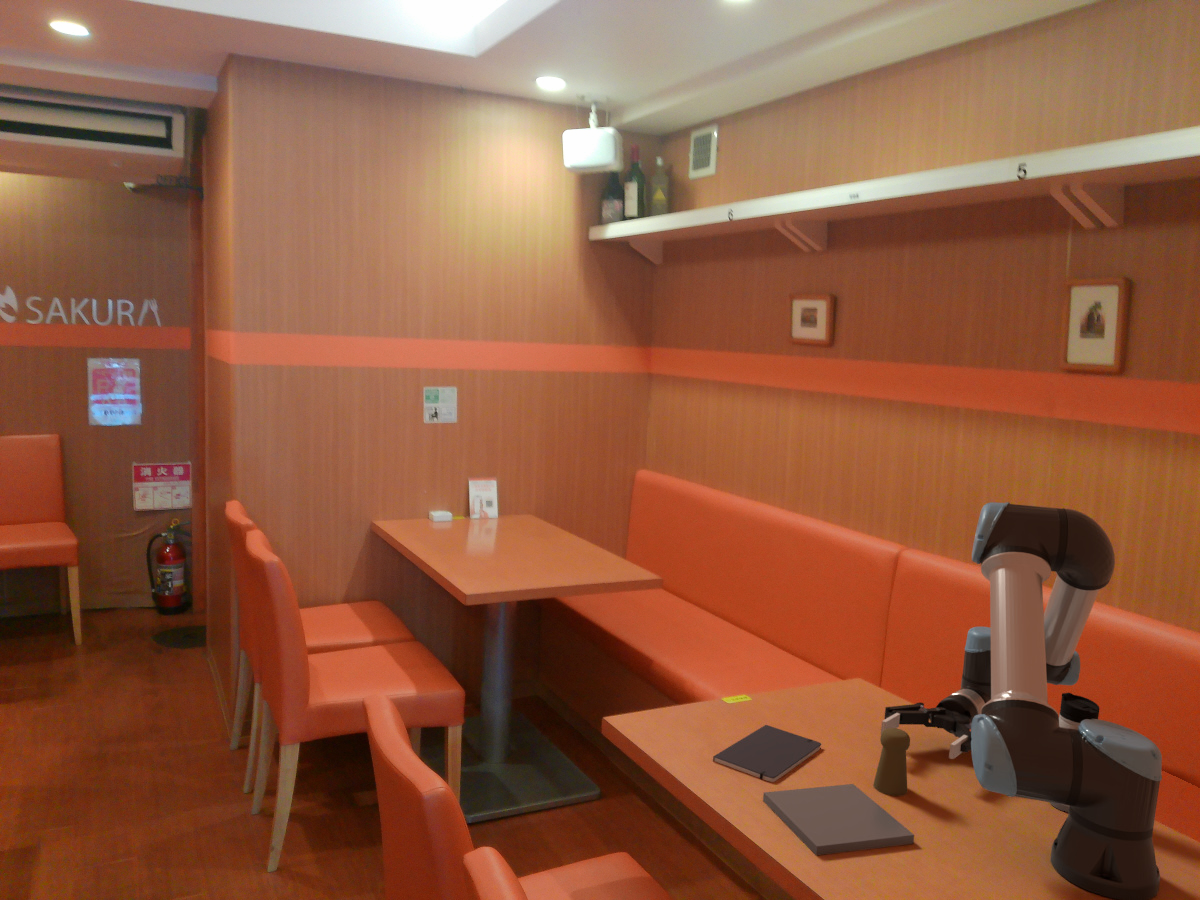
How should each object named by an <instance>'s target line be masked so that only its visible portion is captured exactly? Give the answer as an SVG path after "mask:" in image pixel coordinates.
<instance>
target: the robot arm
mask: <svg viewBox="0 0 1200 900" xmlns="http://www.w3.org/2000/svg"><path fill="white" fill-rule="evenodd" d="M971 561H972V562H973V563H976V564H977V565H980V571H981V574H982V575H983V577H984V578H985V579H986V580H987V581H989V586H990V587H989V592H990V596H989V601H990V602H989V606H990V607H989V608H990V610H989V611H990V613H989V614H990V626H989V627H988V626H974V627H970V628H969V630H968V632H967V634H966V636H967V637H966V641H965V645H964V655H963V667H962V673H961V674H962V675H961V681H960V682H961V683H960V688H959V689H958V690H956V691H955V692H953V693H951V694H949V695H948V696H947V697H945V698H943V699H942V700H940V701H939V702H938V703H937V705H936V706H935V707H930V708H927V707H925V703H923V702H916V703H914V704H906V705H905V704H904V705H903V704H902V705H896V706H895V705H893V706H885V708H884V709H885V711H884V719H883V720H882V721H881V727H880V728H881V729H880V734H881V733H882V732H883V730H885V729H887V728H897V729H899V727H900V725H908V726H909V725H917V726H919V725H921V726H924V727H926V728H937V729H943V730H944V731H945V732H947V733H949V734H952V735H954V737H955V738H956V737H958V738H957V739H956V740H954V741H953V742H952V743H950V744H949V753H948V759H950V760H954V759H956V758H957V757H958V756H959V755H961V754H962V753H966V754H967V753H969V752H970V751H971V752H970V753H971V759H972V761H971V762H972V765H973V766H972V767H973V770H974V774H975V777H976V779H977V781H978V783H979V785H980V786H981V787H982V788H983V789H985V790H986V791H989V792H993V793H997V794H1001V795H1006V796H1007V797H1009V798H1010V797H1011V798H1013V797H1016V798H1022V799H1028V800H1029V799H1030V800H1034V801H1035V800H1036V801H1041V802H1047V803H1050V802H1051V803H1057V804H1063V805H1069V806H1070V807H1069V813H1068V814H1067V816H1066V819H1065V820H1064V823H1062V826H1061V828H1060V829H1059V831H1058V834H1057V836H1056V838H1055V839H1054V841H1053V842H1052V845H1051V853H1050V858H1049V859H1050V863H1051V865H1052V867H1053V868H1054V870H1055V871H1057V873H1058V874H1059V875H1060V876H1062V877H1063V878H1064V879H1066V880H1067V881H1069V882H1070V883H1072V884H1074V885H1075V886H1078V887H1080V888H1081V889H1082V890H1083V889H1084V890H1086V891H1089V892H1091V893H1094V894H1097V895H1100V896H1103V897H1107V898H1111V899H1115V900H1150V899H1152V898H1154V897H1156V896H1157V894H1158V893H1159V890H1160V881H1161V873H1160V872H1161V871H1160V870H1159V867H1158V866H1157V860H1156V852H1155V847H1154V842H1153V834H1154V833H1153V832H1154V827H1155V820H1156V819H1155V818H1156V812H1157V807H1158V805H1157V804H1158V799H1159V798H1158V797H1159V790H1160V785H1161V784H1160V783H1161V782H1162V779H1163V777H1162V776H1163V774H1162V766H1163V765H1162V763H1163V755H1162V752H1161V750H1160V747H1158V746H1157V745H1156V743H1155V742H1154V741H1152V740H1151V739H1149V738H1148V737H1146V736H1145V735H1143V734H1141V733H1140V732H1138V731H1135V730H1133V729H1132V728H1129V727H1126V726H1124V725H1121V724H1118V723H1115V722H1112V721H1107V720H1104V719H1100V718H1098V719H1091V720H1089V719H1085V720H1082V721H1081V723H1080V724H1079V726H1078V730H1076V729H1069V728H1063V727H1060V726H1059V713H1058V711H1057V710H1056V709H1055V708H1054V707H1053V706H1051V705H1050V704H1049V702H1048V701H1049V700H1048V699H1049V698H1048V684H1050V685H1055V686H1061V685H1062V686H1070V687H1071V686H1074V685H1076V684H1077V683H1078V681H1079V679H1080V673H1081V658H1080V654H1079V652H1078V651H1076V648H1077V646H1078V643H1079V641H1080V638H1081V636H1082V634H1083V631H1084V629H1085V627H1086V624H1087V621H1088V619H1089V617H1090V614H1091V611H1092V609H1093V607H1094V604H1095V602H1096V598H1097V597H1098V595H1099V592H1100V590H1102V589H1104V588H1105V587H1107V585H1109V584H1110V581H1111V578H1112V577H1113V574H1114V571H1115V564H1116V560H1115V551H1114V547H1113V545H1112V542H1111V540H1110V537H1109V536H1108V534H1107V533H1106V531H1105V529H1104V528H1103V527H1102V526H1101V525H1100V524H1099V523H1098V522H1097V521H1096V520H1094V518H1092V517H1090V516H1089V515H1087V514H1086V513H1083V512H1081V511H1078V510H1076V509H1070V508H1065V507H1064V508H1060V507H1048V506H1047V507H1046V506H1037V505H1024V504H1016V503H1015V504H1014V503H1010V502H1009V501H1006V502H986V503H985V504H984V505H983V506H982V508H981V509H980V513H979V517H978V522H977V524H976V530H975V535H974V540H973V544H972V550H971ZM1052 572H1055V574H1056V577H1055V581H1054V583H1053V585H1052V586H1053V587H1052V589H1051V592H1050V594H1049V597H1048V601H1047V603H1046V607H1045V608H1044V594H1043V593H1044V591H1043V583H1044V582H1045V581H1048V579H1049V578H1050V576H1051V574H1052Z"/></svg>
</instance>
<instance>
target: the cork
mask: <svg viewBox="0 0 1200 900" xmlns="http://www.w3.org/2000/svg"><path fill="white" fill-rule="evenodd" d="M879 739H880V744H881V745H882V748H881V754H880V756H879V761H878V764H877V768H876V773H875V777H874V779H873V780H874V781H873V783H872V785H873V789H875V790H876V791H878V792H879V793H882V794H885V795H887V796H893V797H901V796H905V795H907V793H908V775H907V774H908V772H907V769H908V768H907V750H908V749H909V748H910V746H911V737H910V735H909V734H908V732H906V731H905V730H903V729H900V728H887V729H885V730H883V732H882V733H881V732H880V738H879Z"/></svg>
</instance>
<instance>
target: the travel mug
mask: <svg viewBox="0 0 1200 900" xmlns="http://www.w3.org/2000/svg"><path fill="white" fill-rule="evenodd" d="M1100 708H1101V707H1100V706H1099V705H1098V703H1096V702H1094V701H1093V700H1092V699H1089V698H1087V697H1084V696H1081V695H1077V694H1073V693H1071V692H1063V693H1061V702H1060V709H1059V713H1058V716H1059V726H1060V727H1063V728H1069V729H1076V730H1078V726H1079V724H1080V723H1081V721H1082V720H1085V719H1089V720H1091V719H1099V717H1100ZM1049 803H1050V804H1049V805H1052V807H1054V808H1055V809H1057V810H1060V811H1062V812H1064V811H1065V812H1064V813H1068V814H1069V807H1070V806H1069V805H1063V804H1057V803H1051V802H1049Z"/></svg>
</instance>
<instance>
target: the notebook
mask: <svg viewBox="0 0 1200 900" xmlns="http://www.w3.org/2000/svg"><path fill="white" fill-rule="evenodd" d="M821 746H822V743H821V742H819V741H817V740H813V739H810V738H808V737H806V736H805V737H804V736H802V735H799V734H795V733H792V732H789V731H786V730H783V729H780V728H777V727H774V726H771V725H768V724H764V725H763V726H762V727H760V728H758V729H756V730H755V731H753V732H751V733H749V734H748V735H746V736H745V737H743V738H741V739H739V740H738V741H736V742H735V743H733V744H731V745H730V746H728V747H727V748H725V749H723V750H721V751H720V752H718V753H716V754H714V756H713V757H712V758H713V759H712V762H715V763H718V764H719V765H720V764H721V765H724V766H725V767H728V768H731V769H734V770H737V771H739V772H742V773H745V774H747V773H748V774H747V775H751V776H753V777H756V778H758V779H760V780H764V781H767V782H770V783H774V782H777V781H778V780H779V779H780V778H782V777H783V776H785V775H786V774H787V773H789V772H790V771H792V770H793V769H794V768H796V767H797V766H798V765H801V763H803V762H804V761H806V760H807V759H808V758H810V757H812V755H814V754H815V753H817V752H818V751H820V749H821Z"/></svg>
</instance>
